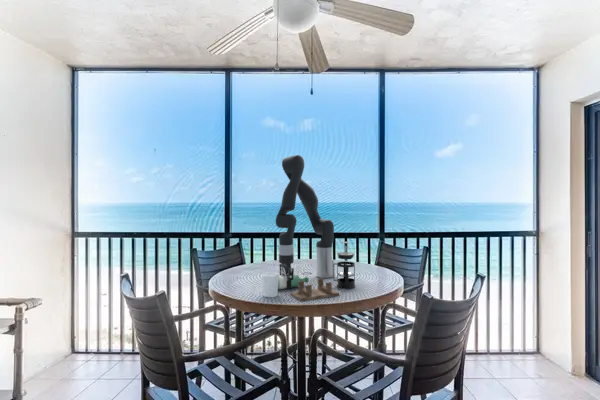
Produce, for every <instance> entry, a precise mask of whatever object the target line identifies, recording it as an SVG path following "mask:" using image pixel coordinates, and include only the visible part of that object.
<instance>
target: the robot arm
mask: <svg viewBox="0 0 600 400" xmlns="http://www.w3.org/2000/svg"><path fill="white" fill-rule="evenodd" d="M281 167H282V170H283V171H284V174H285V175H286V176H287V178H288V179H289V181H288V183H287V186H286V187H285V189H284V191H283V194H282V200H281V204H280V207H279V210H278V212H277V215H276V217H275V225H276V227H277V228H280V229H287V230H286V232H281V233H280V234H279V236H278V237H279V238H278V241H279V242H278V244H279V245H278V246H279V247H278V263H279V265H278V266H279V277H281V276H286V279H287V288H286V289H291V280H293V276H294V275H295V274H294V272H295V270H294V267H292V264H293V263H294V262H295V261H294V257H295V256H294V255H295V253H294V251H295V249H294V234H295V230H296V227H297V217H296V216H295V215H294V214H288V212H292V211H294V210H295V208H296V201H297V196H298V198H299V200H300V202H301V204H302V206H303V208H304V210H305V212H306V214H307V216H308V219H309V221H310V224H311V226H312V229H313V231H314V233H315V234H316V235H319V236H321V240H318V241H316V245H315V247H316V248H315V249H316V252H315V253H316V254H315V255H316V257H315V258H316V277H317V278H319V279H321V278H323V279H327V278H328V279H329V278H332V277H333V278H334V277H335V268H334V269H333V264H334V263H335V262H334V261H335V260H334V259H333V243H334V239H335V238H334V236H335V235H334V233H335V232H334V231H335V227H334V226H335V225H334V223H333V221H332V220H331V219H323V218H321V215H320V214H319V212H318V208H319V207H318V206H319V198H318V197H317V194H316V192H315V190H314V188H313V187H312V186H311V185H309V183H307V181H305V180H304V179H302V176H303V173H304V169H305V160H304V158H303V156H302V155H300V154H297V155H296V154H295V155H291V156H287V157H284V158H282V161H281ZM291 276H292V277H291Z"/></svg>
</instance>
